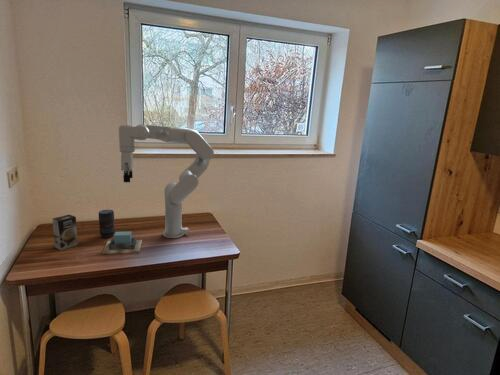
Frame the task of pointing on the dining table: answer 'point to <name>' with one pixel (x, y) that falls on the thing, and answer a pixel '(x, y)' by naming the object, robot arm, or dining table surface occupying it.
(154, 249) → the dining table surface
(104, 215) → the camera lens
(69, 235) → the coffee box
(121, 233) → the key block
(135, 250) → the keyed nest
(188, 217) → the dining table surface
